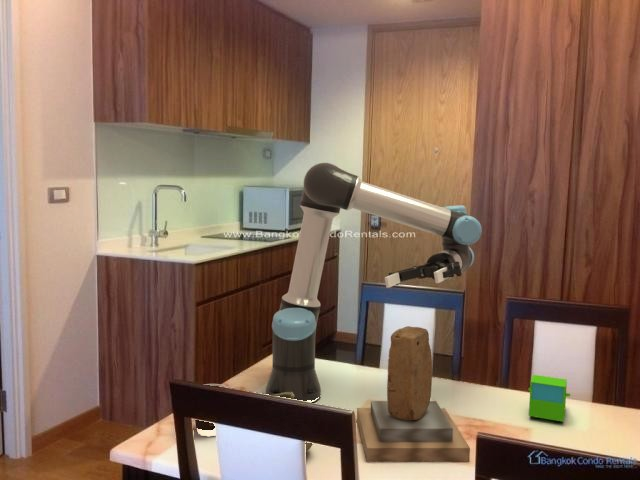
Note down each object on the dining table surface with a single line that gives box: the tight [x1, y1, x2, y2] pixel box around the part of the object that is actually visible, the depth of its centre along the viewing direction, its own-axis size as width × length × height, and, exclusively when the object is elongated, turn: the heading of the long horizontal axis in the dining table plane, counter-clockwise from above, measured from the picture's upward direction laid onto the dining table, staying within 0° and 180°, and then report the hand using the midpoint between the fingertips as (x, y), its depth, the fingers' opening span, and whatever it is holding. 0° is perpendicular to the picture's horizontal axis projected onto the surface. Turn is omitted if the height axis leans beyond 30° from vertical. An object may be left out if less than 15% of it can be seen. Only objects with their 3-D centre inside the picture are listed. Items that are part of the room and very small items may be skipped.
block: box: [386, 325, 433, 421], centre depth 135 cm, size 11×8×20 cm
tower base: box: [356, 400, 471, 463], centre depth 136 cm, size 22×22×6 cm
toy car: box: [528, 374, 571, 424], centre depth 152 cm, size 10×13×10 cm
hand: (410, 280), depth 146 cm, fingers open, 13 cm apart
